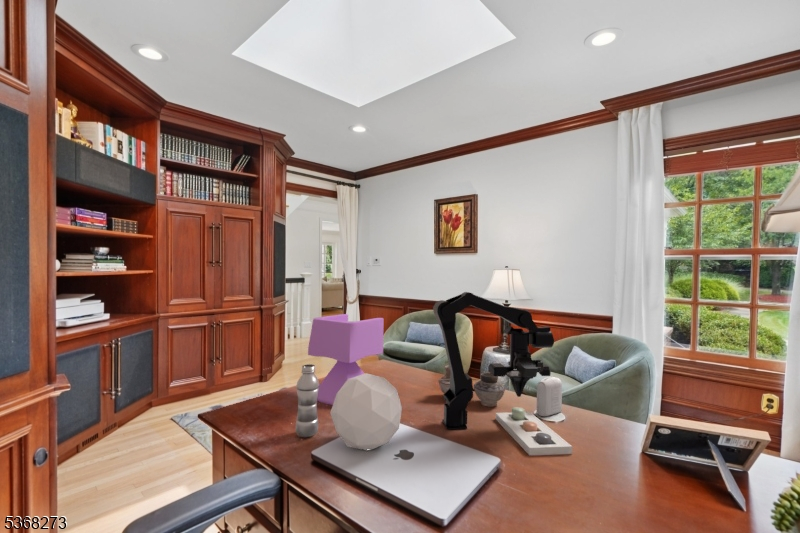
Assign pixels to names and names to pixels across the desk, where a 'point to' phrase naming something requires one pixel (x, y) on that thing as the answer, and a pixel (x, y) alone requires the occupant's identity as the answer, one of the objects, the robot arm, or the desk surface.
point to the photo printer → (549, 396)
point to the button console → (533, 435)
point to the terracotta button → (529, 426)
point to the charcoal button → (543, 438)
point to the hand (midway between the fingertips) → (518, 396)
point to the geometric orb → (366, 411)
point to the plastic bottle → (307, 402)
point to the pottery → (479, 387)
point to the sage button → (518, 414)
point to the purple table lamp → (343, 348)
